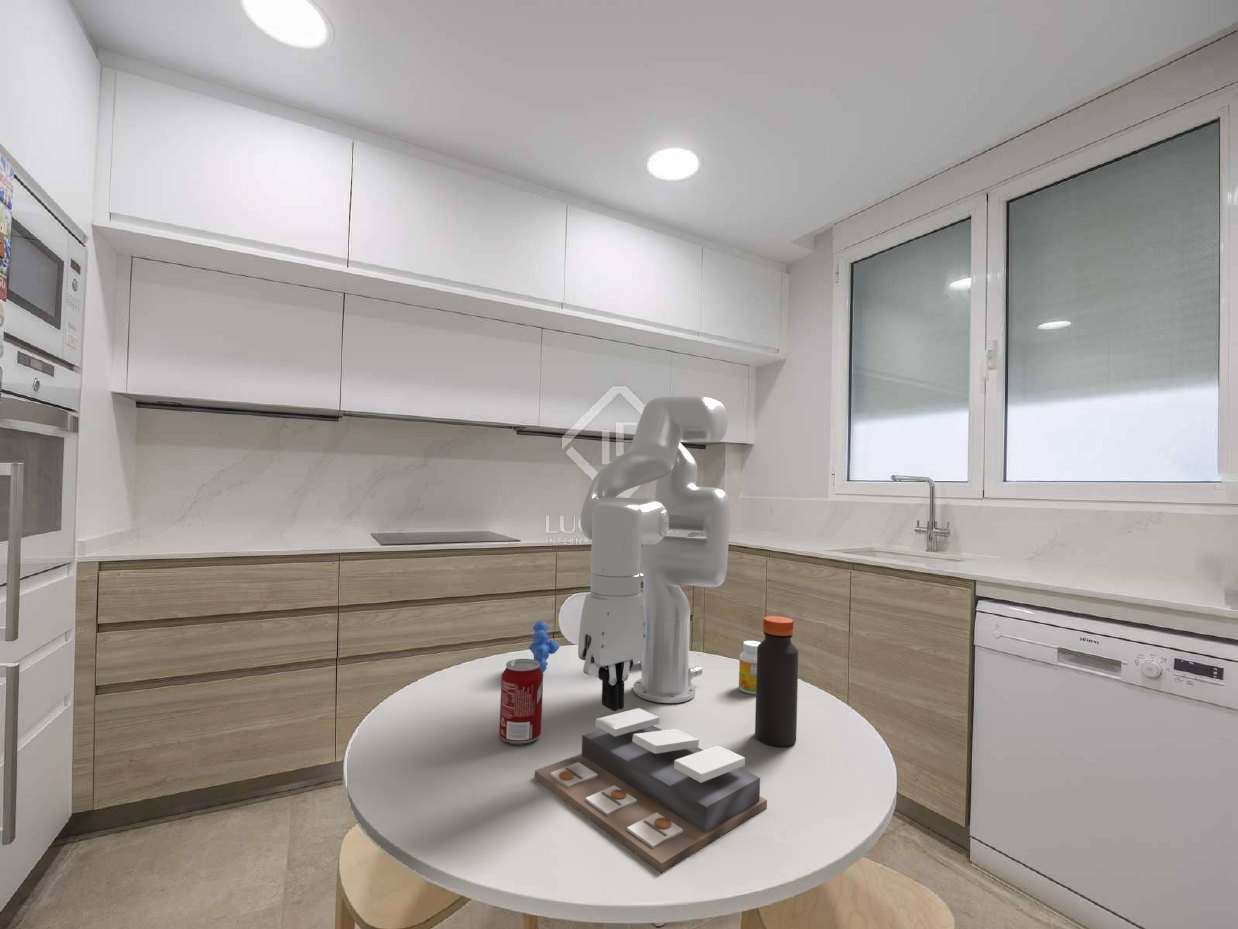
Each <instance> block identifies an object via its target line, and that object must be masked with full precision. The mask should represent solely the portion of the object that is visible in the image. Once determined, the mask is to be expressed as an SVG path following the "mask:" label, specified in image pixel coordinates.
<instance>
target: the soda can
mask: <svg viewBox="0 0 1238 929" xmlns="http://www.w3.org/2000/svg"><path fill="white" fill-rule="evenodd" d="M533 659H534V658H533ZM533 659H531V658H516V659H511V660H508V661H507V662H506V663H505V664H506V665H505V669H504V671H503V672H502V674H501V678H500V679H501V680H500V681H501V685H500V707H499V708H500V709H499V726H498V727H499V728H498V729H499V732H498V735H499V738H500V739H502V741H504V742H506V743H508V744H511V745H516V746H520V745H526V744H530V743H532V742H534V741H535V740H537V739H539V737H540V736H541V734H542V718H543V717H542V716H543V715H542V713H543V691H544V690H543V689H544V673H543V672H542V671H541V669H540V667H539V666H540V663H539V662H538V661H536V660H533Z"/></svg>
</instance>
